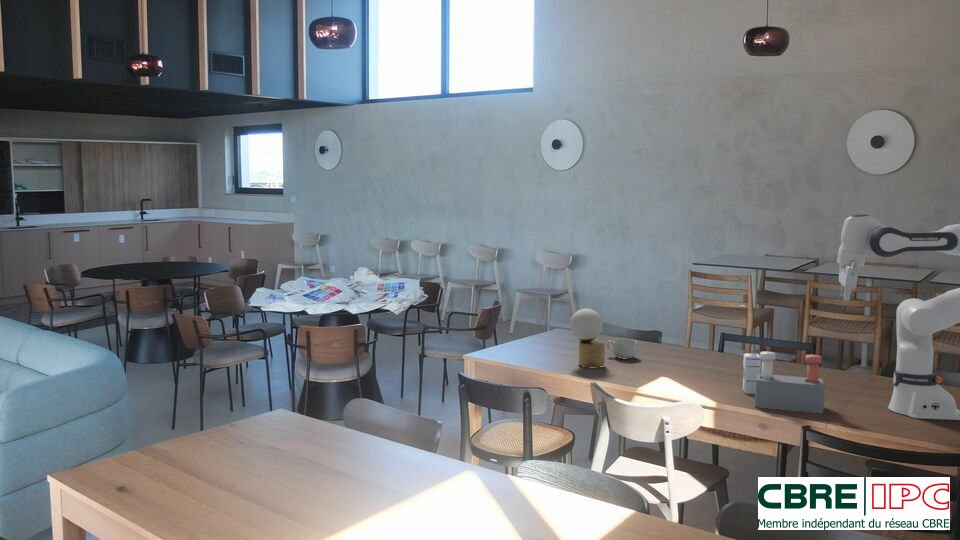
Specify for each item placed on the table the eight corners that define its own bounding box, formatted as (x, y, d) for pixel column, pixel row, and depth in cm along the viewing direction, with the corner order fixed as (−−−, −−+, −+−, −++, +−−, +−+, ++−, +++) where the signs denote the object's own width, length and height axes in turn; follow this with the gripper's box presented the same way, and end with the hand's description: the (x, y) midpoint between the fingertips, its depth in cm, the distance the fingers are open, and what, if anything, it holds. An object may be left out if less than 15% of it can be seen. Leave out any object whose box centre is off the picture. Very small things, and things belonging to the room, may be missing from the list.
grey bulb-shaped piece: (773, 390, 275) (775, 352, 273) (774, 393, 270) (775, 355, 268) (758, 388, 276) (760, 351, 275) (758, 392, 271) (760, 354, 270)
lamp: (566, 367, 329) (567, 310, 326) (572, 360, 342) (573, 305, 339) (601, 370, 325) (603, 312, 322) (606, 362, 338) (607, 307, 335)
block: (820, 405, 272) (822, 378, 271) (823, 413, 263) (824, 385, 262) (754, 400, 279) (756, 373, 278) (755, 407, 270) (756, 380, 269)
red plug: (818, 393, 270) (821, 355, 268) (820, 397, 265) (822, 358, 263) (803, 392, 271) (805, 354, 270) (804, 396, 266) (806, 357, 265)
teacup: (640, 357, 349) (640, 340, 348) (631, 361, 340) (631, 344, 339) (611, 353, 356) (612, 336, 356) (602, 357, 347) (602, 340, 346)
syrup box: (760, 394, 287) (761, 356, 285) (743, 393, 288) (745, 356, 286) (757, 390, 292) (759, 353, 291) (741, 389, 294) (743, 352, 292)
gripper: (865, 263, 257) (858, 303, 259) (857, 258, 276) (850, 295, 278) (844, 261, 259) (838, 301, 261) (838, 256, 278) (832, 293, 280)
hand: (844, 298), depth 269 cm, fingers open, 8 cm apart
